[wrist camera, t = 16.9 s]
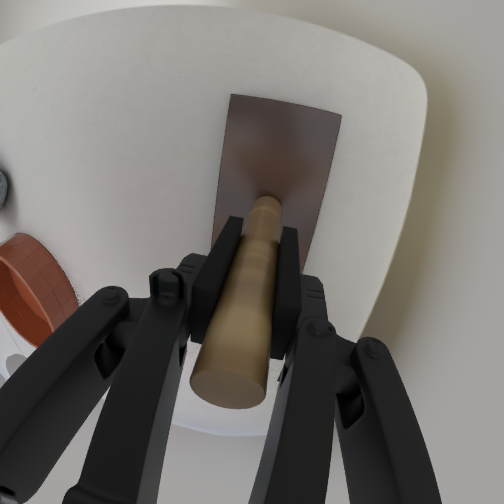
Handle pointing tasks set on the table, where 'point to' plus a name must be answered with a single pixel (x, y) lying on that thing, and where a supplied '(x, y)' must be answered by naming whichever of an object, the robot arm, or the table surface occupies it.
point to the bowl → (33, 289)
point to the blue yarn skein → (2, 188)
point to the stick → (243, 317)
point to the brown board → (275, 163)
